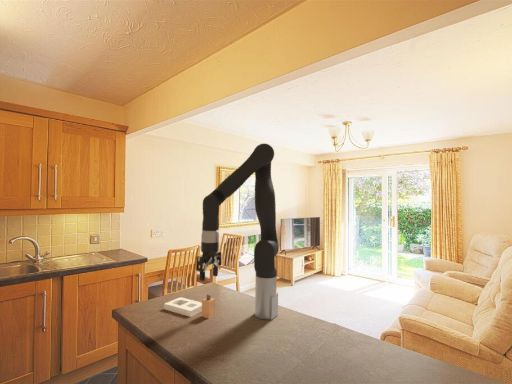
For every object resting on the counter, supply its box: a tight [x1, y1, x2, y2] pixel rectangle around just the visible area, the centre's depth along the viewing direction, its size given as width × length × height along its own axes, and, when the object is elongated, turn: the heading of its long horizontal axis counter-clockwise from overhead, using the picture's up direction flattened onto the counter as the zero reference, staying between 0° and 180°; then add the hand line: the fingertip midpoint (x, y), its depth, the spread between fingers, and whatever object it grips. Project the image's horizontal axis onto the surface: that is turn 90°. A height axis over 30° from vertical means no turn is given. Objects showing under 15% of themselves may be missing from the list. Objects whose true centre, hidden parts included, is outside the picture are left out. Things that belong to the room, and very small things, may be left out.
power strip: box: [163, 296, 202, 318], centre depth 127 cm, size 16×10×3 cm, turn 60°
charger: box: [201, 293, 216, 319], centre depth 120 cm, size 4×4×9 cm
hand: (209, 278), depth 121 cm, fingers open, 8 cm apart
